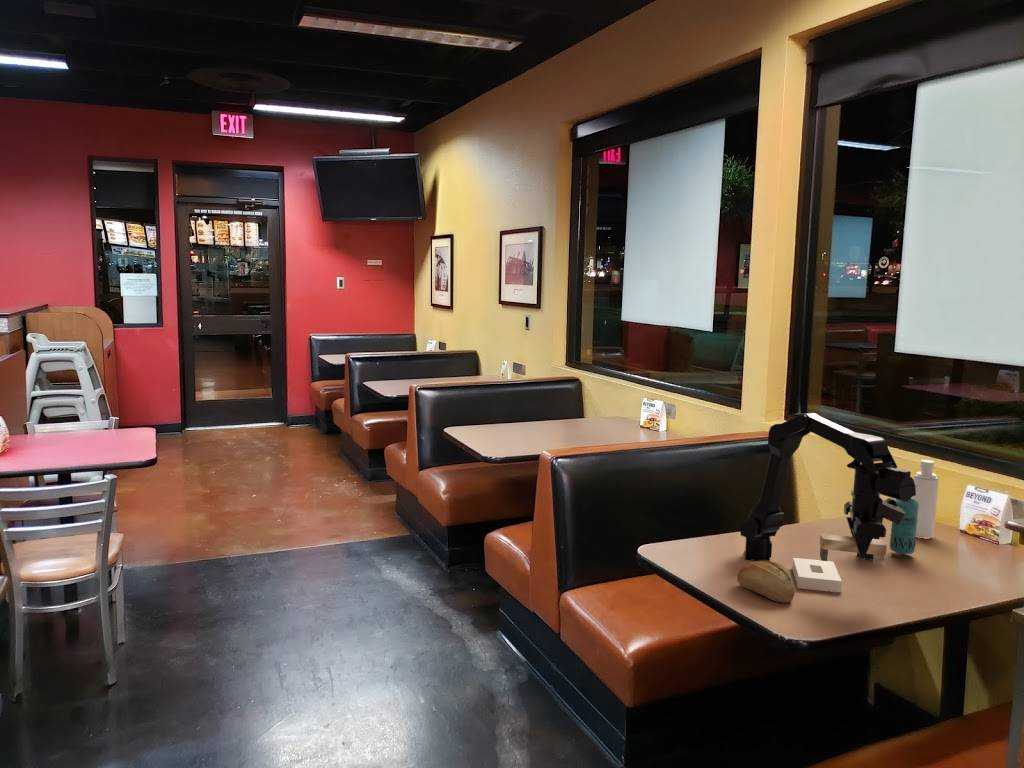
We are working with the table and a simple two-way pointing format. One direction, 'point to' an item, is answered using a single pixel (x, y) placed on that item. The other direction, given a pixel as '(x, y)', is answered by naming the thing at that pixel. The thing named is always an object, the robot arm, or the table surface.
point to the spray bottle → (926, 498)
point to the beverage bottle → (905, 528)
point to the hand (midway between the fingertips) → (860, 553)
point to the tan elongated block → (851, 547)
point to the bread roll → (767, 580)
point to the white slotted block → (816, 575)
